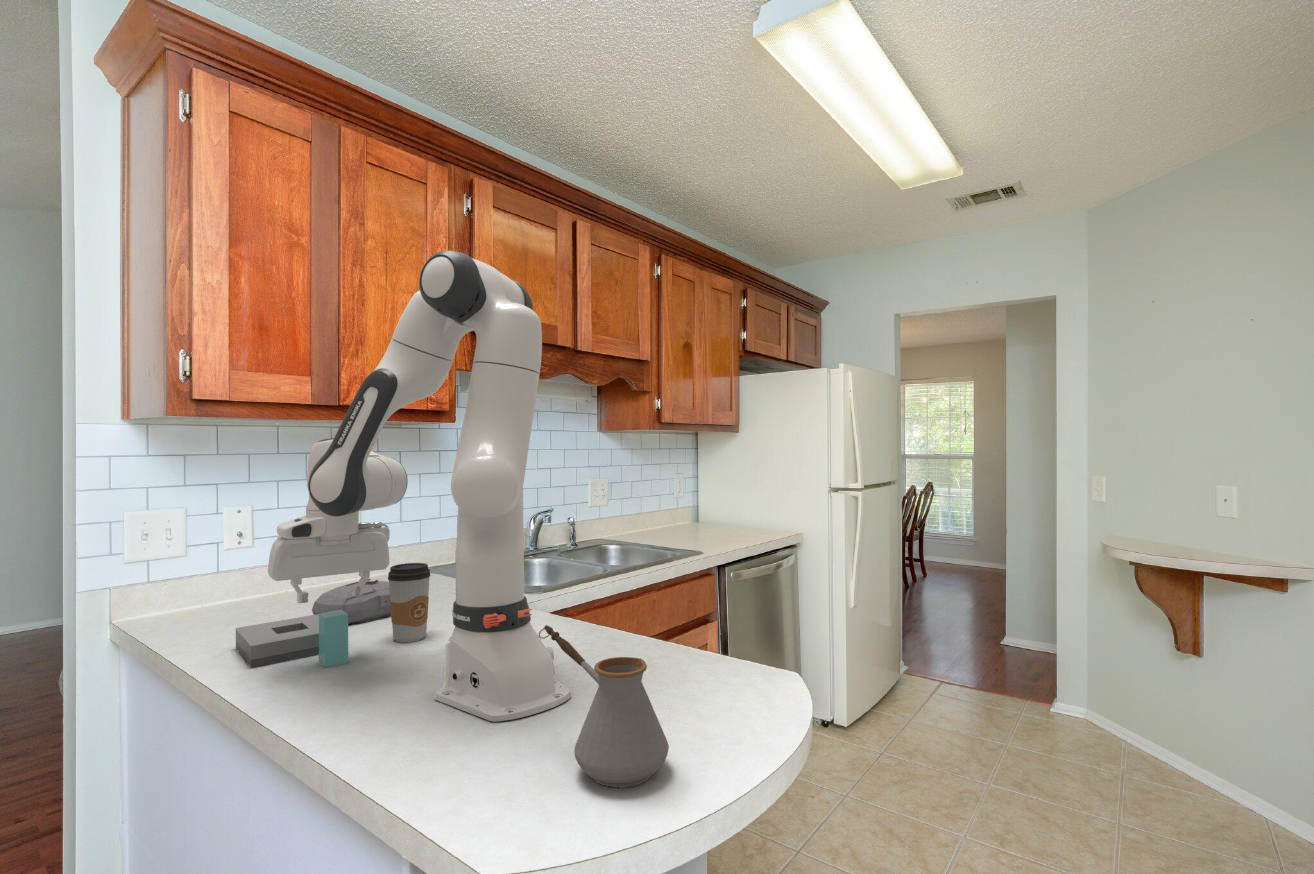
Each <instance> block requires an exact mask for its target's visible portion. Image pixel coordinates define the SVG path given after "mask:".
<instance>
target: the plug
mask: <svg viewBox="0 0 1314 874" xmlns="http://www.w3.org/2000/svg"><path fill="white" fill-rule="evenodd" d="M318 663H319V664H320V665H321V666H322V667H324V668H325V669H326V668H330V667H334V666H338V665H342V664H348V663H349V624H348V613H346V612H344V611H343V610H338V611H332V612H326V613H320V614H319V654H318Z"/></svg>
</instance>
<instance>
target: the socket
mask: <svg viewBox="0 0 1314 874" xmlns="http://www.w3.org/2000/svg"><path fill="white" fill-rule="evenodd" d="M235 649H236V650H237V652H238V653H239V654H240V656H241V657H242V658H243V659H244V661H245V663H246V664H248V665H247V666H248V667H249V668H250V669H255V668H258V667H264V666H269V665H273V664H278V663H279V664H280V663H283V662H287V661H288V662H289V661H293V660H298V659H303V658H307V657H312V656H317V655H318V656H319V614H316V615H314V614H312V615H306V616H299V617H293V618H288V619H282V620H281V619H280V620H276V621H269V622H263V623H257V624H253V625H248V626H247V625H246V626H242V627H241V626H240V627H236V628H235Z"/></svg>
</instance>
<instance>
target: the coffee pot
mask: <svg viewBox="0 0 1314 874" xmlns="http://www.w3.org/2000/svg"><path fill="white" fill-rule="evenodd" d="M544 630H545V632H546V634H548V635H546V636H544V637H543V636H541V634H542V632H543V631H544ZM538 636H539V638H540V639H543V640H544V639H547V638H548V637H549V636H550V637H551V638H550V639H551V640H552V641H555V642H556V643H557V645H558V646H559V647H560V650H562V651H563V652H564V653H565V654H566V655H567V656H569V658H571V659H572V660H573V661H574V662H575V663H576V664H578V665H579V666H580V667H581V668H582V669H583V670H584V671H585V672H586V673H587V674H588V676H590V677H591V678H592V679H593V680H594V681H595V682H596V683H597V685H598V687H597V690H596V693H595V694H594V698H593V700H592V702H591V705H590V707H589V710H588V713H587V715H586V717H585V720H584V722H583V725H582V728H581V729H580V732H579V735H578V738H577V740H576V743H575V745H574V750H573V751H574V758H575V760H576V761H577V764H578V765H579V767H580V769H581V770H582V771H583V772H584V773H585V774H586V775H588V776H589V777H590V778H591V779H592V778H593V779H594V780H595V781H594V780H593V779H592V780H593V781H594V782H596V781H597V782H596V783H597V784H599V783H600V784H599V785H601V784H602V785H601V786H604V785H607V786H606V787H608V786H611V787H610V788H617V787H619V789H620V788H621V789H622V788H631V787H634V786H638V785H641V784H643V783H645V782H647V781H648V780H650V779H651V778H652V777H653V775H654V774H655V773H656V772H657V771H659V769H660V768H661V767H662V765H663V764H664V763H665V762H666V759H667V756H668V753H669V749H670V746H669V742H668V740H667V739H668V738H666V735H665V733H664V731H663V728H662V725H661V723H660V720H659V718H658V717H657V715H656V712H655V710H654V707H653V705H652V702H651V700H650V698H649V695H648V693H647V690H646V688H645V686H644V685H643V681H642V680H643V676H644V672H646V670H647V668H648V665H647V663H646V661H645V660H644V659H642V658H640V657H639V658H638V657H629V656H617V657H616V656H615V657H609V658H605V659H602V660H599V661H598V662H595V665H594V666H593V667H592V666H591V665H589V663H588V662H587V661H586V660H585V659H584V657H582V655H581V654H579V652H578V651H577V649H575V648H574V647H573V645H572V644H571V643H570V642H569V641H568V640H566V639H564V638H563V637H561V636H560V633H559V631H555V630H554V629H553V627H551V626H549V625H547V624H546V625H544V626H543V628H542V629H540V630H539V632H538ZM652 774H653V775H652ZM640 783H641V784H640Z"/></svg>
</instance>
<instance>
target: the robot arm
mask: <svg viewBox="0 0 1314 874" xmlns="http://www.w3.org/2000/svg"><path fill="white" fill-rule="evenodd" d="M418 282H419V283H418V288H419V290H418V291H416V292H415V293H414V294H413V295H412V297H411V298H410V300H409V301H408V303H407V304H406V306H405V308H404V310H403V311H402V312H401V316H400V318H399V320H398V322H397V324H396V327H395V328H394V332H393V333H392V337H391V339H390V342H389V344H388V347H387V349H386V350H385V352H384V355H383V357H382V358H381V359H380V361H379V363H378V365H377V366H376V367H375V368H374V370H372V372H370V373H369V374H368V375H367V377H366V378H365V379H364V380H363V381H362V383H361V385H360V386H359V388H358V390H357V392H356V393H355V396H354V398H353V399H352V402H351V403H350V405H349V407H348V409H347V412H346V413H345V415H344V418H343V419H342V421H341V424H340V426H339V427H338V430H337V432H336V433H335V436H334V437H330V438H323V439H321V440H318V441H316V442H314V444H313V445H312V447H311V449H310V452H309V456H308V461H307V473H306V487H307V490H308V501H307V505H306V506H305V507H306V508H305V509H306V510H305V515H302V516H300V517H297V518H294V519H293V518H292V519H290V520H288V521H285V522H282V523H279V524H278V525H277V526H276V533H277V536H279V537H277V538H276V539H275V540H274V541H273V543H272V544H271V548H270V552H269V559H268V567H267V573H268V576H269V577H270V578H271V579H272V580H274V581H276V582H279V581H280V582H281V581H290V585H291V586H292V588H293V590H294V591H295V593H296V603H298V604H306V603H308V602H309V599H308V598H309V592H307V590H306V591H302V589H301V587H300V586H301V585H302V584H303V583H302V582H303V580H302V579H309V578H310V579H311V578H316V577H317V578H318V577H328V576H335V575H345V574H346V575H347V574H356V573H358V576H359V577H360V579H359V580H358V581H357V582H358V584H357V585H355V586H352V589H353V591H352V595H353V596H361V595H363V586H364V585H365V584H366V582H367V580H368V579H370V577H371V576H370V575H371V572H373V571H374V572H375V571H382V570H383V571H384V570H386V569H387V568H388V567H389V565H390V549H389V543H388V542H389V540H390V527H389V526H388V525H387V524H386V523H383V522H382V521H374V522H368V521H367V522H359V521H360V520H359V519H360V512H365V511H371V510H376V509H381V508H388V507H390V506H393V505H396V504H398V503H399V502H400V501H401V500H402V499H403V497H404V496H405V494H406V492H407V488H408V482H409V481H408V474H407V472H406V469H405V468H404V466H403V464H402V463H401V462H400V461H398V460H397V459H395V458H392V457H388V456H386V455H383V454H380V453H376V452H375V451H373V448H374V447H375V445H376V442H377V440H378V438H379V437H380V434H381V432H382V430H383V428H384V425H385V424H386V422H387V421H388V420H389V419H390V417H391V416H392V415H393V414H394V413H396V412H397V411H399V410H400V409H403V408H404V407H405V406H407V405H410V404H411V403H412V404H413V403H414V402H417V401H420V400H423V399H426V398H430V396H432V395H434V394H435V393H437V392H438V391H439V390H440V388H441V386H443V384H444V382H445V381H446V379H447V377H448V375H449V374H450V373H449V372H450V370H451V367H452V365H453V361H454V358H455V356H456V353H457V349H458V346H459V343H460V341H461V340H462V338H463V337H464V336H465V335H466V334H468V333H470V332H473V331H474V333H475V336H476V344H475V345H476V346H475V351H474V355H473V361H472V368H471V373H470V379H469V386H468V393H467V401H466V405H465V413H464V415H463V421H462V425H461V431H460V435H459V439H458V444H457V449H456V453H455V460H454V465H453V470H452V474H451V480H450V491H451V496H452V499H453V501H454V503H455V505H456V506H457V525H456V526H457V527H456V543H455V544H456V545H455V553H454V555H455V566H454V567H455V600H454V601H453V603H452V611H451V612H452V613H451V614H452V624H453V626H454V629H453V632H452V634H451V636H450V637H449V639H447V642H446V643H445V649H444V662H443V665H444V666H443V680H442V681H443V682H442V686H441V687H440V688H438V689H437V690H436V691H435V696H434V699H435V700H436V701H439V702H441V703H443V704H445V705H448V706H451V707H453V708H455V709H458V710H460V711H464V712H466V713H469V714H470V715H474V716H476V717H479V718H482V719H484V720H487V721H489V722H505V721H511V720H517V719H520V718H525V717H529V716H532V715H536V714H538V713H541V712H544V711H547V710H550V709H553V708H555V707H558V706H560V705H561V704H563V703H565V702H567V701H568V700H569V699H570V698H571V697H572V695H571V690H570V689H569V688H568V687H567V686H566V685H565V684H563V683H562V682H561V681H560V680H558V679H557V678H556V676H555V675H556V673H555V672H556V671H555V665H554V660H555V653H554V652H555V651H554V650H553V647H550V646H549V647H546V646H545V644H544V642H543V641H542V640H541V638H540V637H539V634H538V633H537V632H536V630H535V629H534V627H533V625H532V624H531V620H532V619H531V616H532V615H533V614H532V613H530V612H531V611H532V608H530V606H529V604H528V599H527V596H525V558H524V557H525V554H524V551H525V545H524V538H525V537H524V534H525V532H524V482H525V477H526V469H527V463H528V462H527V461H528V455H529V448H530V441H531V435H532V434H531V433H532V429H533V428H532V427H533V420H534V414H535V407H536V399H537V395H538V394H537V393H538V388H539V382H540V381H539V379H540V374H541V366H542V352H543V333H542V330H543V329H542V321H541V319H540V317H539V315H538V314H537V313H536V311H534V307H533V300H532V297H531V296H530V294H529V293H528V291H527V290H526V288H525V287H523V286H522V285H521V284H520V283H519V282H518V281H516V280H514V279H511V278H509V277H508V276H507V275H505V274H504V273H502V272H501V271H499V270H498V269H497V268H495V267H493V266H492V265H490V264H488V263H486V262H483V261H481V260H478V259H475V258H472V257H471V256H469V255H468V254H466V253H463V252H459V251H456V250H440V251H438V252H436V253H434V254H432V255H431V256H429V258H428V259H427V260H426V262H425V263H424V265H423V267H422V268H421V272H420V275H419V281H418Z"/></svg>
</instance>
